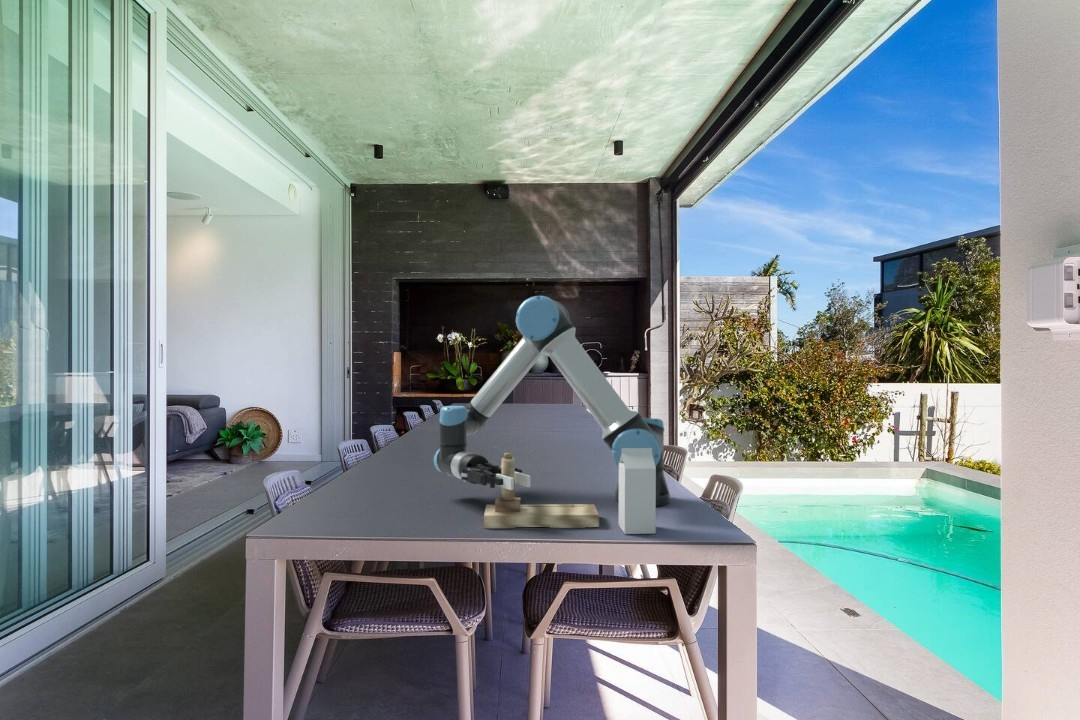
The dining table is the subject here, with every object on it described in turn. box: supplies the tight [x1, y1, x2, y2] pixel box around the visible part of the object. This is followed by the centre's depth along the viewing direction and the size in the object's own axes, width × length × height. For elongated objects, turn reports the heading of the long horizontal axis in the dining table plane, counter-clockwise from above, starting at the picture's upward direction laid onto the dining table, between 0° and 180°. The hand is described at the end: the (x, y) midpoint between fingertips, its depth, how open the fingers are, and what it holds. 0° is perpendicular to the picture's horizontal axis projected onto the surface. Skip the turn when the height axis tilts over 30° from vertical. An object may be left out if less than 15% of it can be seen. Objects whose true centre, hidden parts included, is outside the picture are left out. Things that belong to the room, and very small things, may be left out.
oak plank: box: [483, 503, 600, 529], centre depth 143 cm, size 27×10×3 cm, turn 92°
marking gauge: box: [494, 452, 521, 512], centre depth 143 cm, size 6×4×14 cm, turn 92°
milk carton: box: [618, 448, 657, 535], centre depth 137 cm, size 7×7×19 cm
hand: (520, 482), depth 139 cm, fingers open, 4 cm apart
